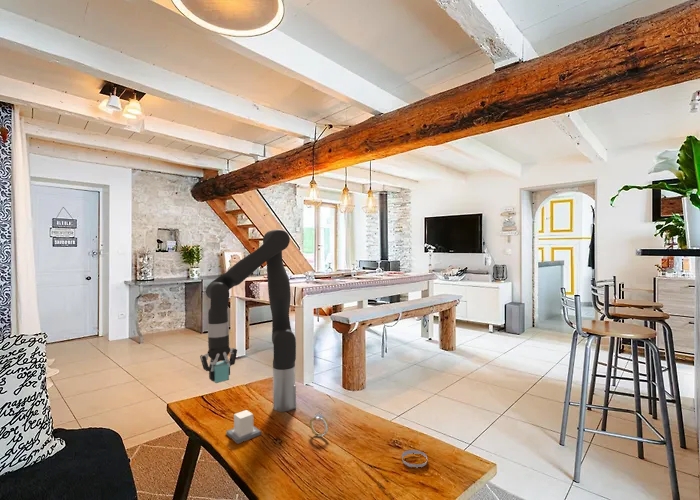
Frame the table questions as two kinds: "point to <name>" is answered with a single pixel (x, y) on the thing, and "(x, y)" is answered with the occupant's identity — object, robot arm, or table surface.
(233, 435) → the baseplate
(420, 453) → the gray circular band
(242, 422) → the cream brick
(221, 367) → the teal brick
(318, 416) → the ring
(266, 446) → the table surface
